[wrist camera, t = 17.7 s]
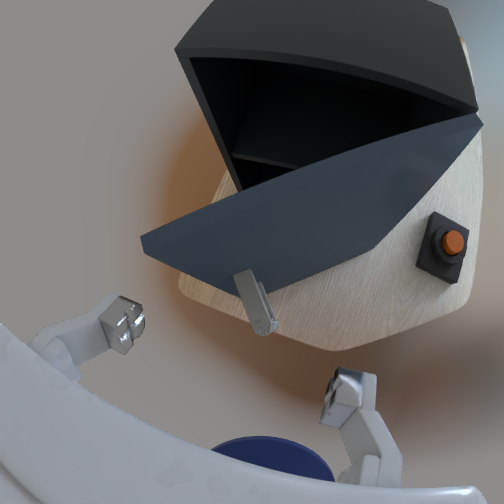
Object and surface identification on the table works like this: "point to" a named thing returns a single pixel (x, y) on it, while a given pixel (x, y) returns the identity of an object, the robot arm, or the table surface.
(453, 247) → the button
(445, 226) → the button box
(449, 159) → the door
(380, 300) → the table surface
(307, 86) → the cupboard
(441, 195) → the table surface
